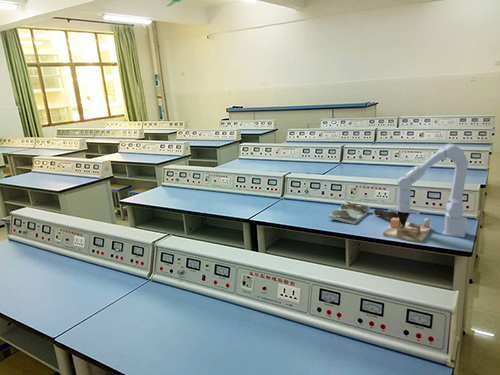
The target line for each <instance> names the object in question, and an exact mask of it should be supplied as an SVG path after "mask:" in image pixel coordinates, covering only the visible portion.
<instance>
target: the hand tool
mask: <svg viewBox="0 0 500 375" xmlns="http://www.w3.org/2000/svg"><path fill="white" fill-rule="evenodd" d="M373 212H374V215H375V216H380V217H383V218H387V219H389V220H390V221H391V219H392V218H399V217H398V216H397V214H398V212H393V211H391V212H389V211H388V210H384V209H380V208H376V209H374V211H373Z"/></svg>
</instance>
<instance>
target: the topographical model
mask: <svg viewBox="0 0 500 375" xmlns="http://www.w3.org/2000/svg"><path fill="white" fill-rule="evenodd" d="M370 210H371V206H370V205H365V204H360V203H355V202H351V201H347V200H346V201H344V202H342V203H341V205H340V207H338V208H337V209H335V210H334V211H332V212H331V213H330V214H328V219H332V220H334V221H340V222H343V223H346V224H347V223H348V224H351V225H352V224H353V225H356V224H358V223H359V222H360V221H361V220H362V219H364V218H365V217H366V216H367V214H368V213H369V211H370Z"/></svg>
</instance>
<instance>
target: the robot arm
mask: <svg viewBox="0 0 500 375" xmlns="http://www.w3.org/2000/svg"><path fill="white" fill-rule="evenodd" d="M447 158H448V159H449V160H451V161H452V162H453V163H454V164H455V167H454V170H453V172H454V173H453V178H452V185H451V189H450V194H449V196H448V199H447V202H446V203H445V204H444V210H445V211H446V212H445V215H444V230H443V231H442V234H441V235H445V236H451V237H458V238H465V236H466V234H467V229H468V228H467V227H468V225H467V224H468V217H465V216H464V214H465V213H464V212H465V211H464V208H463V205H464V204H463V194H464V189H465V184H466V178H467V172H468V167H469V160H468V158H467V156H466V155H465V152H464V150H463V149H461V148H460V147H459V146H457V145H455V144H454V143H450V142H449V143H445V145H443V146H442V147H440V148H438V149H437V151H435V152H434V153H432V155H431V156H430V157H429V158H428V159H427V160H425V161H424V162H423V163H422V164H420V165H416V166H413V167H411V168H410V171H408V172H407V173H404V174H403V176H400V177H399V178H398V180H397V185H398V191H397V206H389V207H388V210H387V212H391V211H392V212H396V213H397V216H398V218H399V220H400V222H401V224H403V227H405V224H406V222H408V218H409V216H410V215H412V214H413V215H416V216H419V215H420V211H421V210H419V209H415V208H411V188H412V186H413V184H414V183H416V182H417V181H419V180H420V179H421V178H422V177H424V176H425V175H426V174H425V172H426V171H427V170H428V169H430V168H431V167H433V166H434V165H435V164H437V163H438V162H440V161H448V159H447Z"/></svg>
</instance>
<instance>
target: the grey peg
mask: <svg viewBox="0 0 500 375" xmlns="http://www.w3.org/2000/svg"><path fill="white" fill-rule="evenodd" d="M423 224H424V227H426V228H429V227H430V225H431V219H430V218H427V217H426V218H424V219H423Z"/></svg>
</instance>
